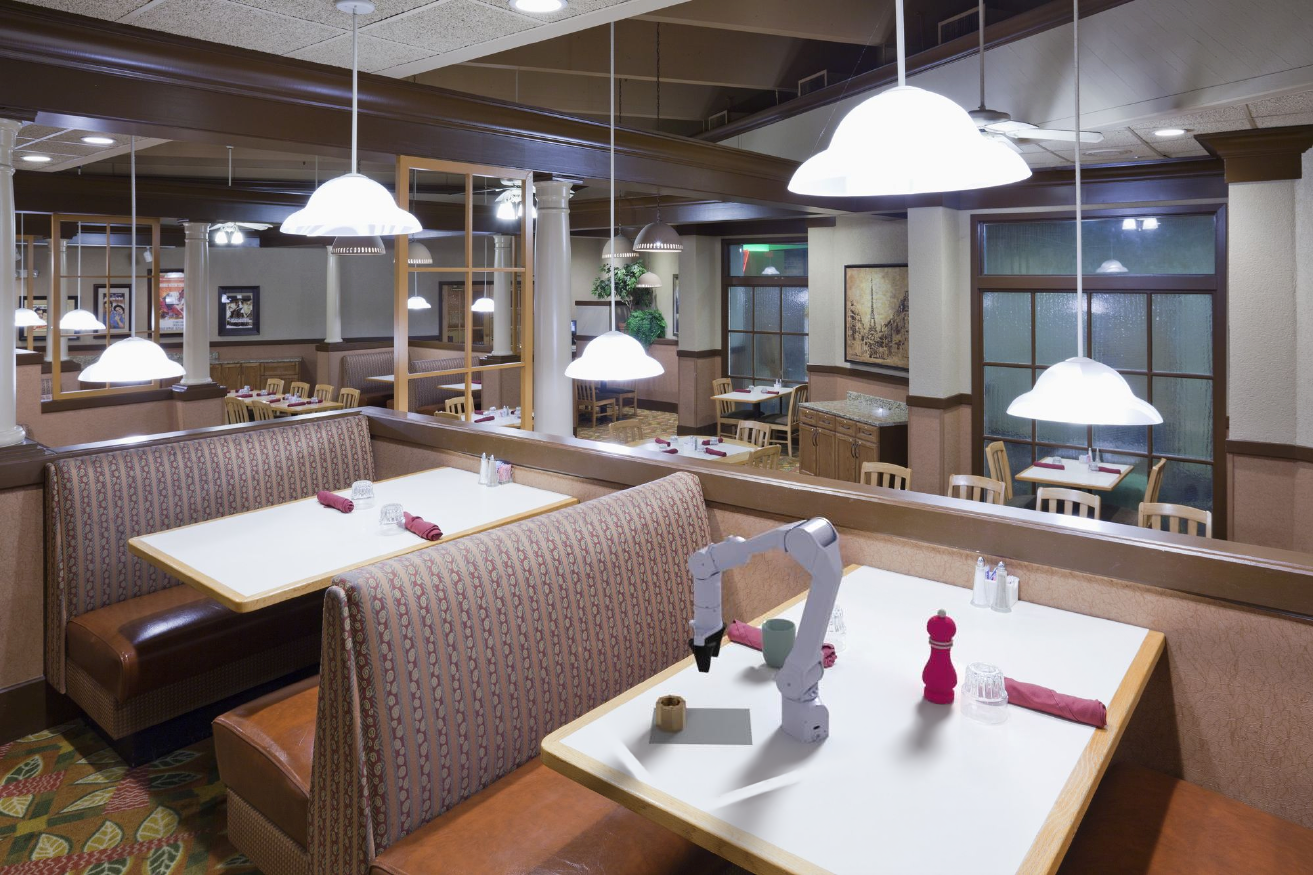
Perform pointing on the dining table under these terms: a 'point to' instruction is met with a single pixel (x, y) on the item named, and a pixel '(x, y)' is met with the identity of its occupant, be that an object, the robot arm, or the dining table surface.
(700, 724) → the slate block
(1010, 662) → the dining table surface
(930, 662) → the pepper mill
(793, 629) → the cup
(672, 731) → the bronze ring
